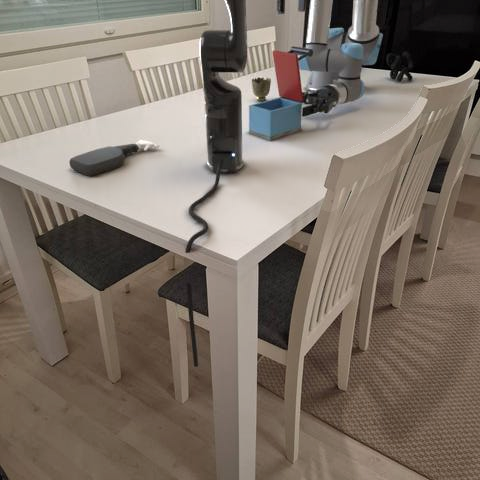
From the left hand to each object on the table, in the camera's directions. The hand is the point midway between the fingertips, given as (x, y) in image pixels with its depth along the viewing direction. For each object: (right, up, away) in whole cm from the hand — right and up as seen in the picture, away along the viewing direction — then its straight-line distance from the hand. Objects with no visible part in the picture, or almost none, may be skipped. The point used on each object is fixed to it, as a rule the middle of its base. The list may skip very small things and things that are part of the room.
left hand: (291, 12), depth 128 cm
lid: (0, -15, +9) cm, 18 cm away
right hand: (0, -23, +14) cm, 27 cm away
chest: (-4, -31, +15) cm, 34 cm away
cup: (-6, -11, +47) cm, 49 cm away
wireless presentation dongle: (-49, -43, -3) cm, 65 cm away
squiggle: (+57, +7, +72) cm, 93 cm away
